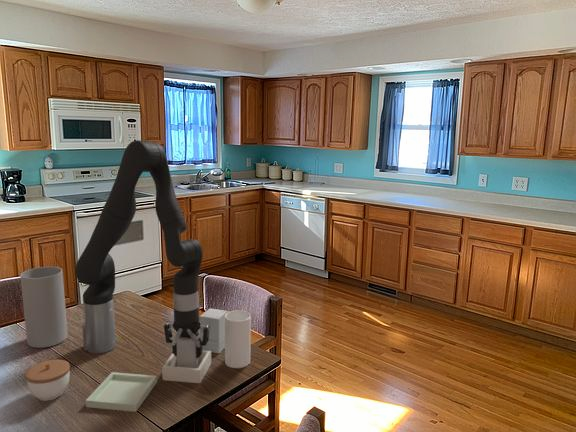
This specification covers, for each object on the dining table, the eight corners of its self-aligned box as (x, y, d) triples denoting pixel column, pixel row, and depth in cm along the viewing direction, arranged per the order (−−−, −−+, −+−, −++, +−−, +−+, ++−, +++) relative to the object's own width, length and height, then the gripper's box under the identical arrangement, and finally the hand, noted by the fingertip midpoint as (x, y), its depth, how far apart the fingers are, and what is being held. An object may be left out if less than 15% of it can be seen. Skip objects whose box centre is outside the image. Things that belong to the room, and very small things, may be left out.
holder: (162, 380, 129) (162, 367, 129) (176, 360, 141) (176, 348, 140) (200, 383, 128) (200, 370, 127) (211, 362, 140) (211, 350, 139)
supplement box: (229, 344, 152) (228, 310, 149) (219, 354, 145) (218, 319, 143) (210, 340, 154) (210, 307, 152) (199, 350, 147) (199, 315, 145)
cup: (225, 355, 144) (225, 310, 141) (250, 354, 145) (250, 310, 142) (224, 368, 136) (223, 321, 133) (250, 367, 137) (250, 320, 134)
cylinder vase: (45, 352, 144) (38, 280, 139) (18, 344, 148) (11, 275, 144) (75, 336, 155) (70, 269, 150) (50, 329, 160) (44, 264, 155)
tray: (86, 407, 116) (85, 400, 116) (112, 378, 130) (112, 372, 129) (135, 411, 115) (135, 405, 114) (157, 382, 128) (156, 375, 128)
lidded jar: (31, 388, 124) (27, 358, 122) (72, 380, 128) (70, 351, 127) (25, 410, 114) (22, 377, 113) (70, 400, 119) (68, 369, 117)
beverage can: (193, 378, 131) (192, 341, 128) (173, 375, 132) (172, 339, 130) (201, 367, 137) (200, 332, 135) (182, 364, 138) (181, 329, 136)
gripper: (158, 308, 127) (160, 360, 131) (205, 311, 126) (206, 364, 129) (168, 298, 135) (169, 348, 138) (213, 301, 133) (213, 351, 136)
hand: (187, 355), depth 133 cm, fingers closed on beverage can, 6 cm apart
